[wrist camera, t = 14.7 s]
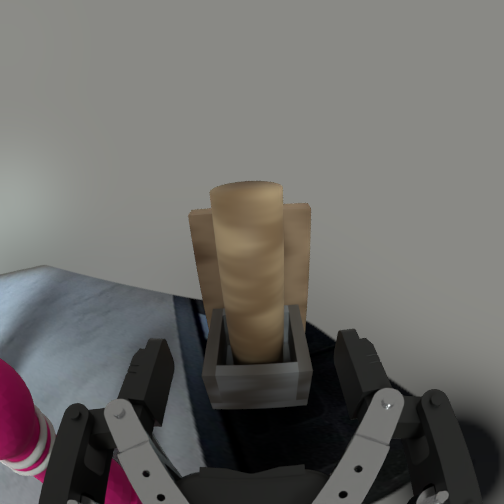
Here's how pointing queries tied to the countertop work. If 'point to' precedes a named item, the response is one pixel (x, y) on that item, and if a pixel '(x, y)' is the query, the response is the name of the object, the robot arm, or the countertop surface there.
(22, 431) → the pepper mill
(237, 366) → the cup bracket
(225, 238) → the oak post
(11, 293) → the countertop surface
